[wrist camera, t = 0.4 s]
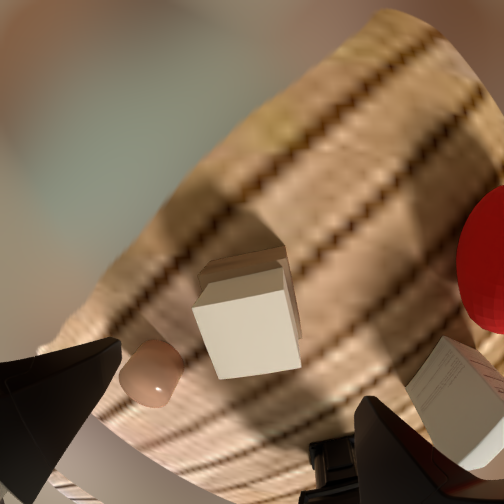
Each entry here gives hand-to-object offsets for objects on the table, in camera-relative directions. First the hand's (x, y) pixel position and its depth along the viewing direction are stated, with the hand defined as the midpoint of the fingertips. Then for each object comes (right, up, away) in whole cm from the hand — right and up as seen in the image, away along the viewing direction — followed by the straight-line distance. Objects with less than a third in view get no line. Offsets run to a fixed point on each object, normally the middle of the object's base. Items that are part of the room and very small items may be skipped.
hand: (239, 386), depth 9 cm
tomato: (+22, +5, +11) cm, 25 cm away
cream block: (+1, +1, +10) cm, 10 cm away
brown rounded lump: (-9, -6, +16) cm, 20 cm away
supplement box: (+21, -8, +14) cm, 27 cm away
